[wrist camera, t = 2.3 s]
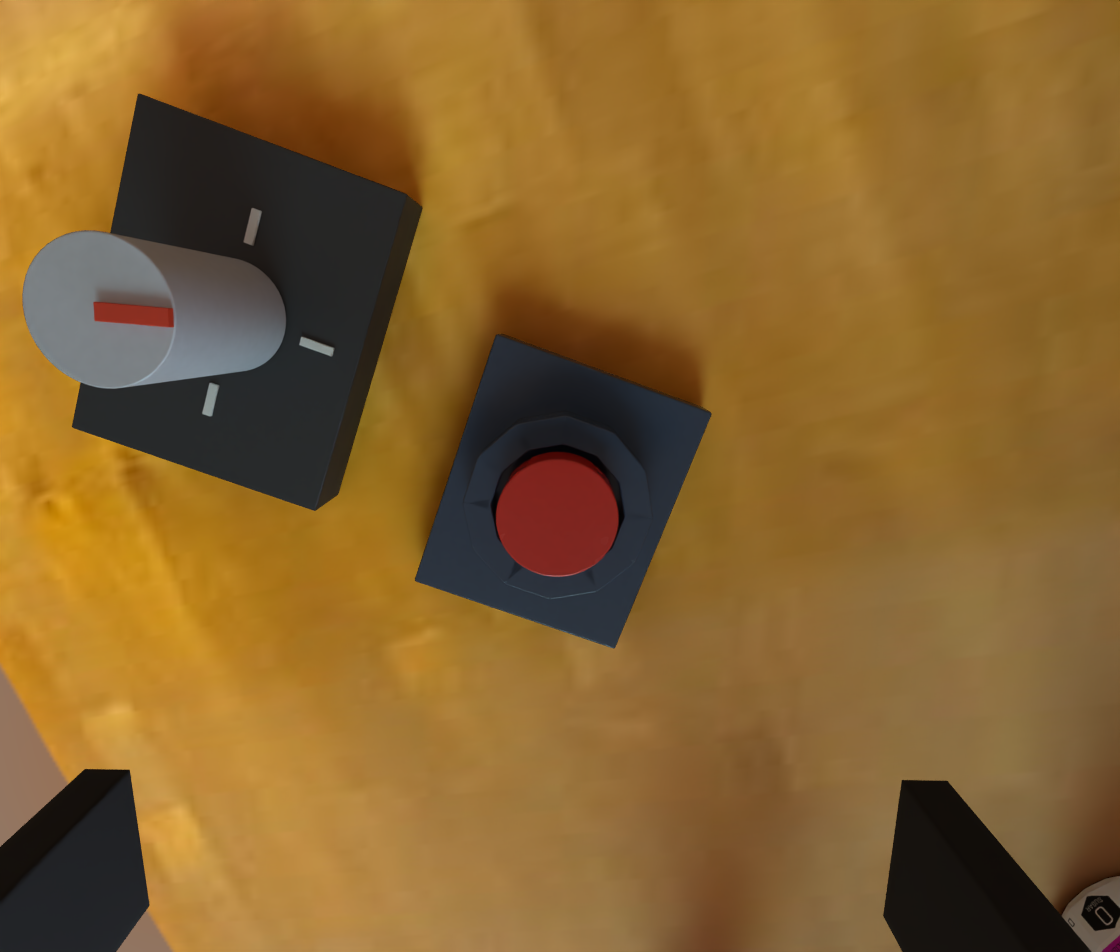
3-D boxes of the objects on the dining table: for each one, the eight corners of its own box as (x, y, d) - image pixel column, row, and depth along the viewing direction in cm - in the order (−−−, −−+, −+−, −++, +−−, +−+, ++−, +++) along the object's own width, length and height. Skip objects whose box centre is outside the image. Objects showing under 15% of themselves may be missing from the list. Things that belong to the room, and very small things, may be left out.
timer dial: (178, 366, 28) (20, 383, 20) (174, 253, 27) (5, 221, 19) (286, 376, 28) (173, 396, 20) (286, 262, 27) (166, 235, 19)
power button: (522, 434, 28) (518, 441, 26) (633, 474, 28) (637, 483, 27) (484, 541, 29) (479, 554, 27) (592, 578, 29) (593, 593, 28)
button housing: (501, 333, 31) (491, 334, 27) (702, 407, 31) (721, 418, 27) (424, 564, 33) (404, 596, 29) (612, 629, 34) (617, 668, 30)
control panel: (181, 116, 29) (134, 90, 26) (423, 207, 30) (406, 193, 26) (116, 418, 32) (68, 428, 29) (338, 495, 33) (314, 512, 29)
